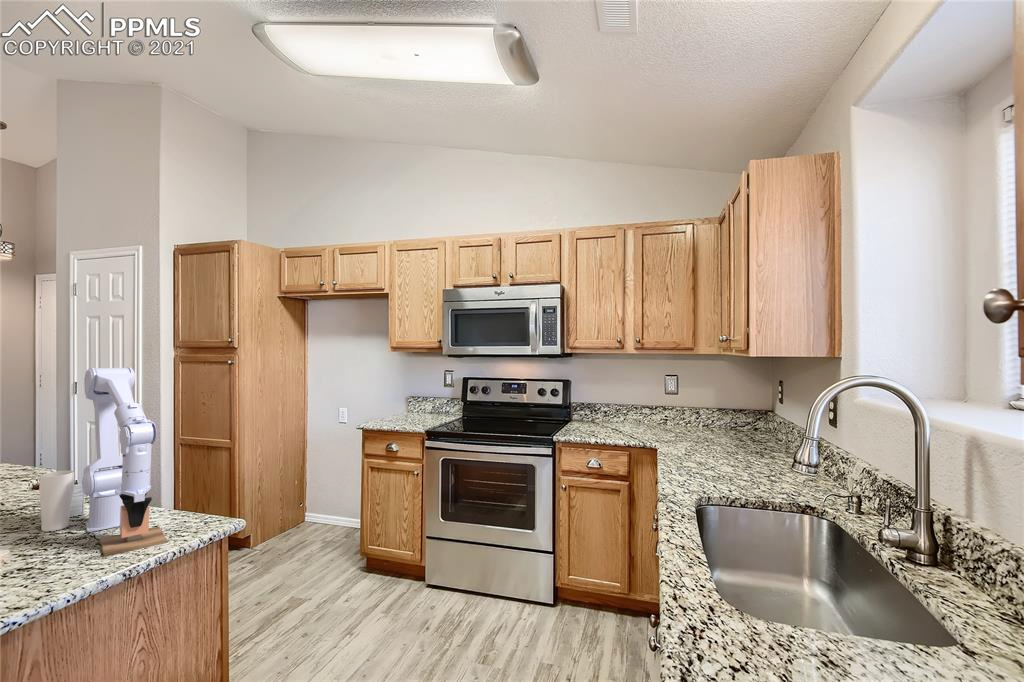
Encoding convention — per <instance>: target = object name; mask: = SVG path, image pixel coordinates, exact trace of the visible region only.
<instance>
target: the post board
mask: <svg viewBox="0 0 1024 682" xmlns="http://www.w3.org/2000/svg"><path fill="white" fill-rule="evenodd" d="M99 542H100V548H101V550H102V554H103V558H104V557H109V556H114V555H117V554H118V555H119V554H122V553H127V552H131V551H136V550H140V549H145V548H150V547H153V546H157V545H163V544H165V543H167V542H168V538H167V537H166V535H165V533H164V532H163V530H162V529H161V527H160V526H155V527H149V530H148V533H143V534H139V535H134V536H129V537H124V538H122V537H121V535H120V533H119V534H114V535H110V536H106V537H100V538H99ZM167 544H168V543H167Z"/></svg>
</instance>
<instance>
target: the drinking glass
mask: <svg viewBox="0 0 1024 682" xmlns="http://www.w3.org/2000/svg"><path fill="white" fill-rule="evenodd" d="M74 485H75V471H74V470H57V471H50V472H45V473H43V474H40V477H39V485H38V487H39V488H38V489H39V494H38V495H39V509H40V520H41V521H40V525H41V526H40V530H41V531H42V532H46V533H48V532H49V531H51V532H56V530H57V531H60V530H64V529H66V528H67V527H68V526H69V525H70V518H69V516H70V509H71V503H72V497H73V490H74ZM49 533H50V532H49Z"/></svg>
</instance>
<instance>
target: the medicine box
mask: <svg viewBox="0 0 1024 682" xmlns="http://www.w3.org/2000/svg"><path fill="white" fill-rule="evenodd" d="M85 495H86V494H84V493H83V490H82V483H79V484H74V490H73V497H72V503H71V509H70V516H69V517H72V518H74V517H73V516H77V517H79V516H78V515H82V516H85V501H86V500H85V498H86V496H85Z"/></svg>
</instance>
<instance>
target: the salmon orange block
mask: <svg viewBox="0 0 1024 682" xmlns="http://www.w3.org/2000/svg"><path fill="white" fill-rule="evenodd" d="M149 522H150V504H149V505H148V507H147V509H146V512H145V515H144V519H143V522H142V525H141V526H139V527H134V528H131V527H130V524H129V519H128V513H127V510H126V507H125V506H121V509H120V526H119V534H120V535H121V537H122V538H124V537H129V536H134V535H139V534H143V533H148V530H149V528H150V527H149V525H150V523H149Z"/></svg>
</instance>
